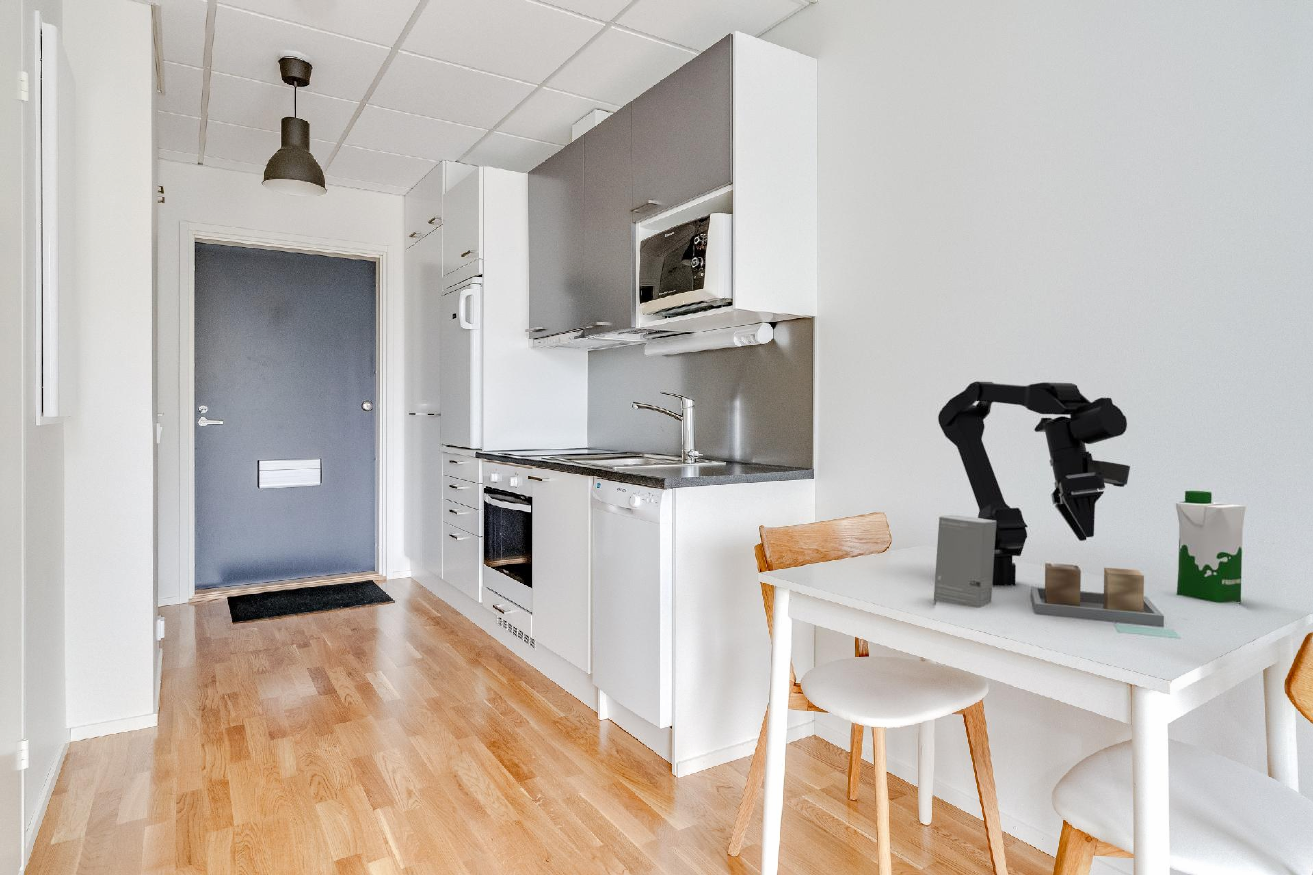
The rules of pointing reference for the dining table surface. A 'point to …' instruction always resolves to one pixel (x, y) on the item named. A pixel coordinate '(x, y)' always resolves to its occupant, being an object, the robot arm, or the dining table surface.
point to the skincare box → (965, 560)
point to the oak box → (1123, 589)
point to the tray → (1096, 609)
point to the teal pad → (1146, 631)
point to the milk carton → (1209, 548)
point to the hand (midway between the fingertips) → (1086, 538)
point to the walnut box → (1062, 584)
